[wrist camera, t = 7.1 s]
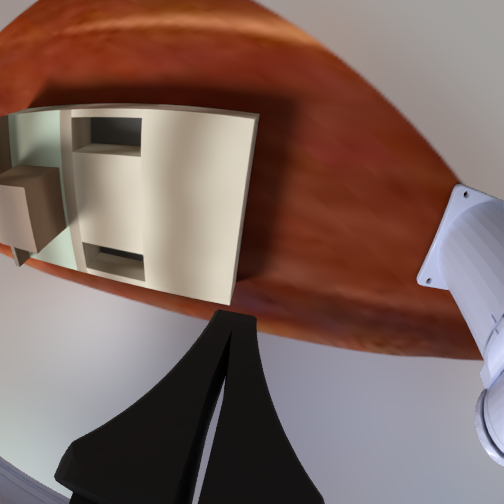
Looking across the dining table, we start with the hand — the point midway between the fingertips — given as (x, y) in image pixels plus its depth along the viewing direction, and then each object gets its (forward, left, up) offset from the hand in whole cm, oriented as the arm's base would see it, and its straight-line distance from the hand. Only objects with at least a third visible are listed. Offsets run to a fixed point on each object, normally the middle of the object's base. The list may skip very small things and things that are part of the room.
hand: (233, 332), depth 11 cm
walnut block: (+16, 0, -8) cm, 17 cm away
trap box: (+10, 0, -10) cm, 14 cm away
